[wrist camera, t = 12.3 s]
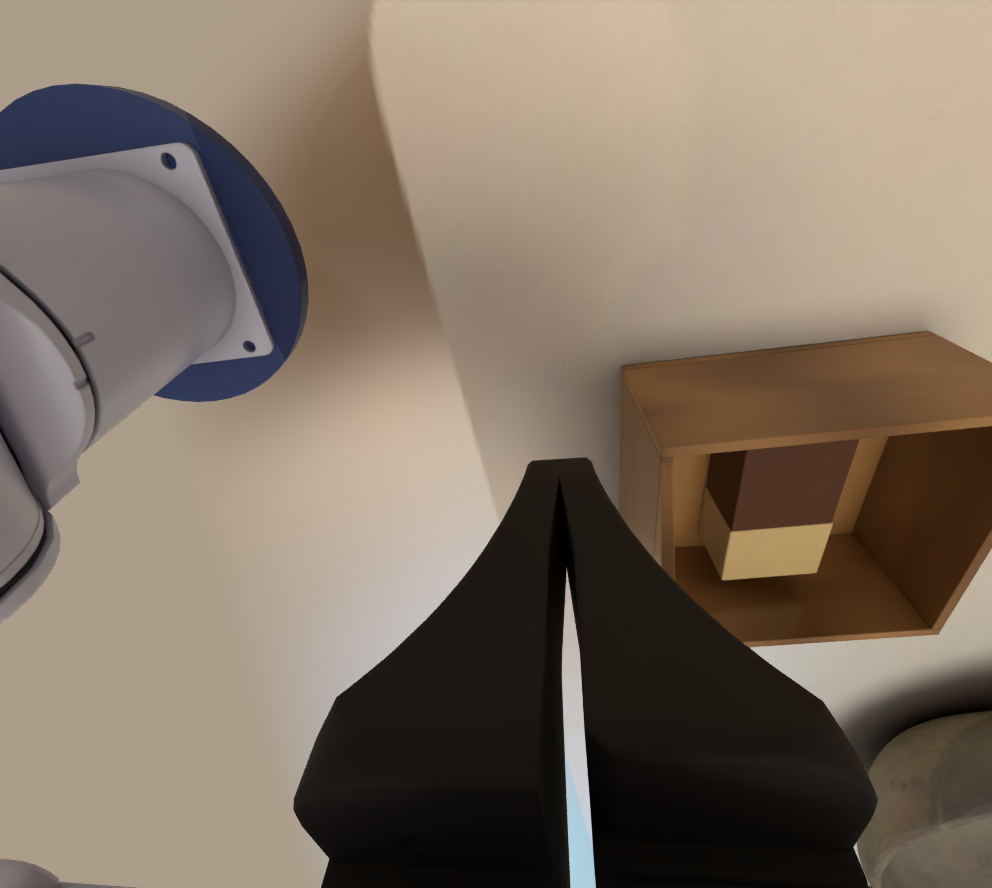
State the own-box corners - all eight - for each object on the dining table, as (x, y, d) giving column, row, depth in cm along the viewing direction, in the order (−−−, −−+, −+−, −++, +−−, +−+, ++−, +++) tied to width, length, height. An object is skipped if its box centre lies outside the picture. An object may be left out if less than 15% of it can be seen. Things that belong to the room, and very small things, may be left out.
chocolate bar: (783, 525, 24) (817, 573, 21) (697, 532, 24) (721, 581, 22) (821, 378, 20) (870, 417, 17) (717, 389, 20) (749, 429, 17)
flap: (653, 668, 20) (645, 667, 20) (671, 462, 14) (661, 461, 14) (651, 832, 16) (641, 830, 16) (676, 632, 10) (661, 629, 10)
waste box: (618, 552, 26) (646, 654, 21) (621, 365, 20) (661, 448, 15) (852, 532, 25) (938, 634, 20) (930, 330, 19) (1080, 407, 14)
